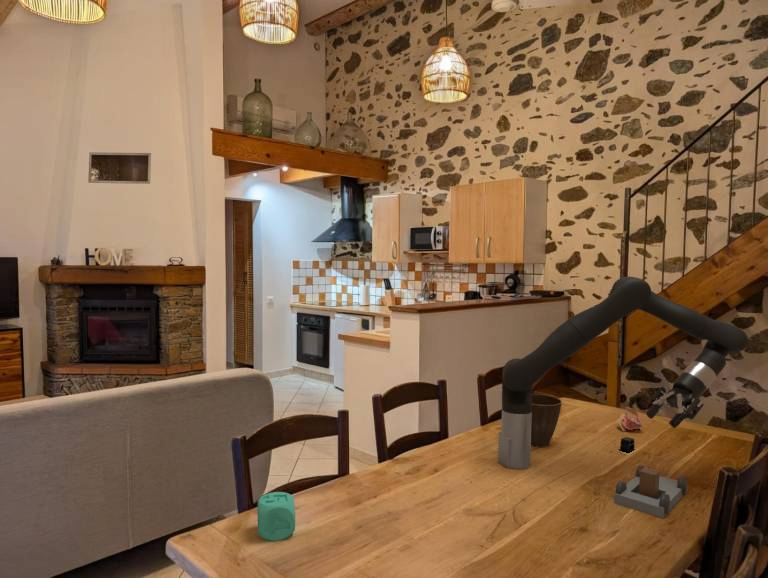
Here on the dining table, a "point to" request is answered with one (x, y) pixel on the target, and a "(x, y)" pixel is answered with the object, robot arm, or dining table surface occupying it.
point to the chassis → (667, 497)
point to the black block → (627, 445)
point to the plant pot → (544, 418)
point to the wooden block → (649, 482)
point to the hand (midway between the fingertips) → (659, 421)
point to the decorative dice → (276, 516)
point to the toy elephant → (629, 420)
